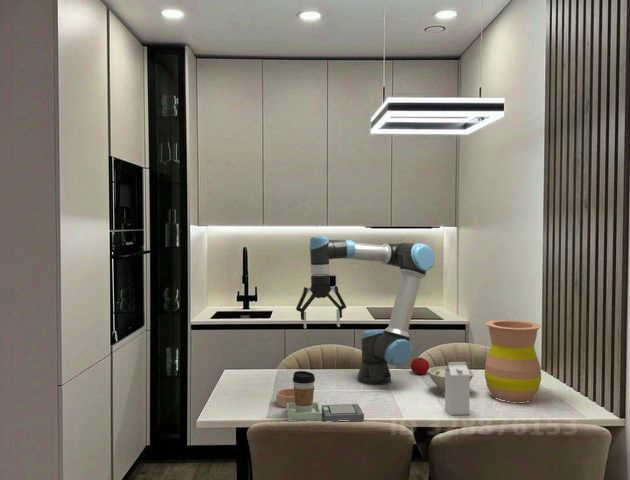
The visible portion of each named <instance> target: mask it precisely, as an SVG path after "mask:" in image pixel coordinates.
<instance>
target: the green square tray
mask: <svg viewBox="0 0 630 480" xmlns="http://www.w3.org/2000/svg"><path fill="white" fill-rule="evenodd" d="M286 414H287V421H288V420H308V421H322V420H323V414H322V407H320V402H319V401H318V402H317V401H313V405H312V412H310V413H296V405H295V403H287V408H286Z"/></svg>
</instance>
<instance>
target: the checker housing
mask: <svg viewBox="0 0 630 480" xmlns="http://www.w3.org/2000/svg"><path fill="white" fill-rule="evenodd" d="M331 405H332V404H321V411H322V418H323V420H324V422H325V421H339V420H349V421H355V422H365V413H364V412H363V410H362V408H361V407H360V405H359V403H345V404H344V403H342V404H341V403H340V404H339V403H338V404H336V405H353V407H354V409H355V411H356V414H333V415H331V413H330V411H329V406H331Z"/></svg>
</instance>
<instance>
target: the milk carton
mask: <svg viewBox="0 0 630 480" xmlns="http://www.w3.org/2000/svg"><path fill="white" fill-rule="evenodd" d="M446 366H447V368H446V370H445V394H444V409H445V410H446V411H447V412H448V414H450V415H451V416H453V415H455V416H461V415H462V416H463V415H470V400H471V399H470V393H471V391H470V387H471V386H470V385H471V384H470V383H471V380H470V374H469V371H468V369H469V368H468V365H467V361H451V362H450V361H448V362H447V365H446Z"/></svg>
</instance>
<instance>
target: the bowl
mask: <svg viewBox="0 0 630 480" xmlns="http://www.w3.org/2000/svg"><path fill="white" fill-rule="evenodd" d="M447 366H448V365H443V366H442V365H441V366H433V367H429V369H428V371H427V374H428V375H429V377H430V380H431V381H432V382H433V383H434V384H435V386H437V387H438V388H439V389H441V391H442V392H441V393H442V394H443V395H445V370H446V368H447ZM468 371H469V374H470V381H471V380H472V379H473V377H474V371H473V370H471V369H469V368H468Z"/></svg>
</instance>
